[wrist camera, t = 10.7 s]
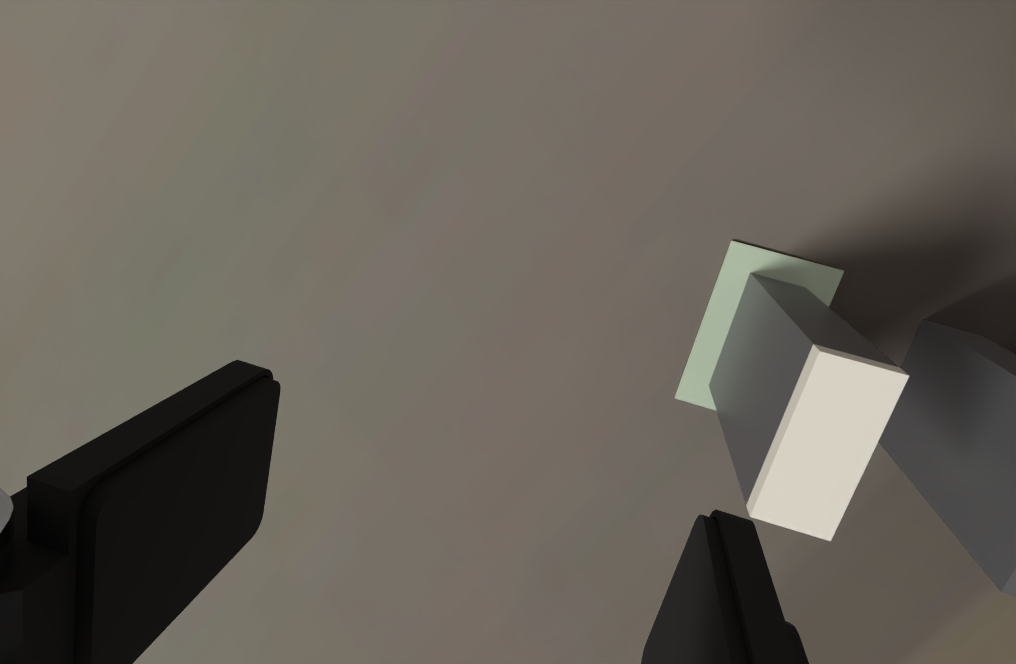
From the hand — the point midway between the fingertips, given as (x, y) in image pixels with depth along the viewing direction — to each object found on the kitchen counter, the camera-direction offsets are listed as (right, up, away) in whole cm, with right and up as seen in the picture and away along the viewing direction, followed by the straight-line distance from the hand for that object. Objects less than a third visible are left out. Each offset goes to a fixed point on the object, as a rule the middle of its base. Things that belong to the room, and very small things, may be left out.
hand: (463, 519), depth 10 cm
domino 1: (+11, +3, +16) cm, 19 cm away
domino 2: (+17, +1, +15) cm, 23 cm away
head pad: (+11, +3, +16) cm, 19 cm away
